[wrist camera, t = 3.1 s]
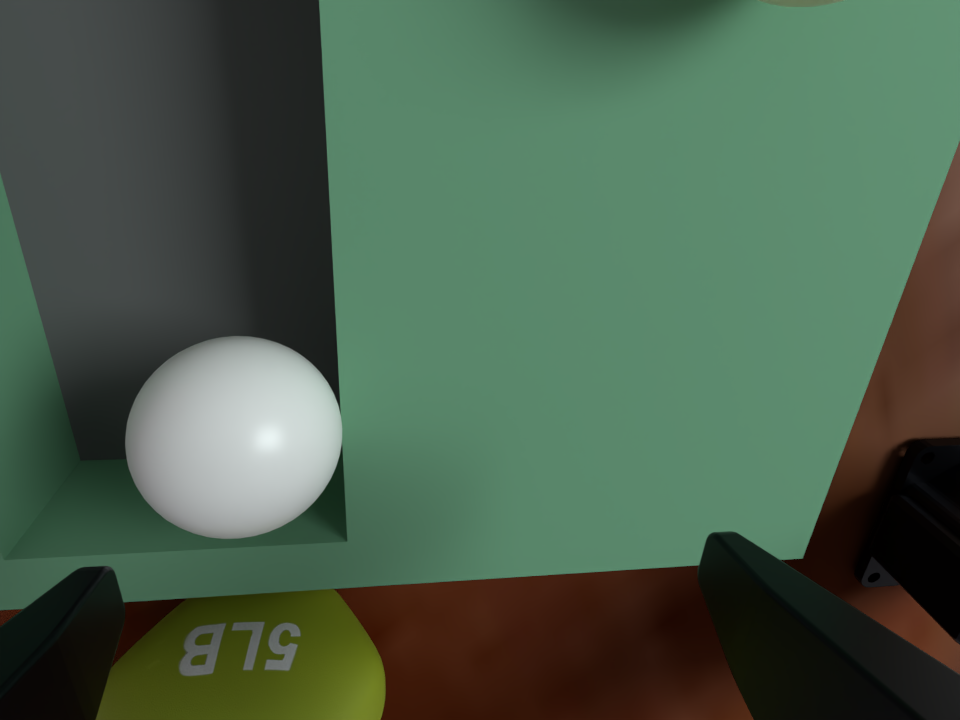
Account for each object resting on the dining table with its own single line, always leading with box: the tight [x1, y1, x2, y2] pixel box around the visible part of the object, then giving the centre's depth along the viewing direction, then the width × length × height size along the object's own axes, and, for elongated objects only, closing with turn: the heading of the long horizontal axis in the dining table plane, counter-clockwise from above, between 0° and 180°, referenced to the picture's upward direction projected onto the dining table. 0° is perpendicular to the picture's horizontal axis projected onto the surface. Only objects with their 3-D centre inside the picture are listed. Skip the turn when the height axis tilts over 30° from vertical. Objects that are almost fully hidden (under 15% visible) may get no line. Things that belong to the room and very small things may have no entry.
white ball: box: [125, 336, 342, 539], centre depth 12 cm, size 4×4×4 cm
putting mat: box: [0, 0, 960, 610], centre depth 13 cm, size 21×22×4 cm
